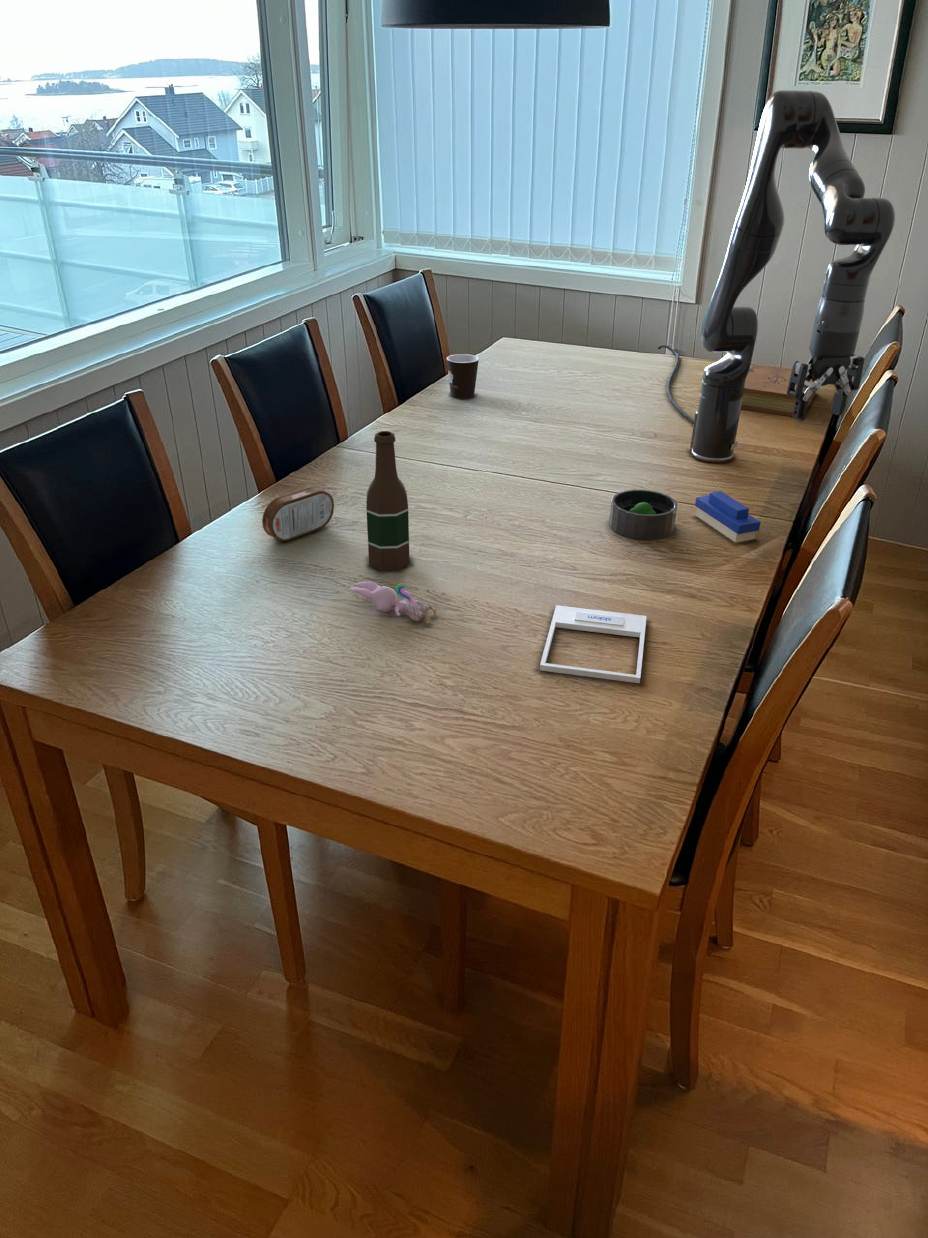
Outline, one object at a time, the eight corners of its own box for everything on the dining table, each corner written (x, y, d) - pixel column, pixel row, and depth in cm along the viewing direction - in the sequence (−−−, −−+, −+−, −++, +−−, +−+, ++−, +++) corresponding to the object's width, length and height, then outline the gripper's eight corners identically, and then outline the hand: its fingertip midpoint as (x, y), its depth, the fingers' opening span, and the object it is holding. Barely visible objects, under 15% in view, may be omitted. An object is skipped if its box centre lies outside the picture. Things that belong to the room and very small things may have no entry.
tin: (328, 519, 180) (325, 479, 176) (338, 524, 178) (335, 484, 174) (263, 543, 171) (258, 501, 167) (273, 548, 169) (268, 506, 165)
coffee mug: (478, 400, 246) (478, 362, 241) (446, 399, 246) (446, 362, 241) (478, 387, 256) (478, 351, 251) (447, 386, 256) (447, 350, 251)
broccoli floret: (622, 526, 178) (625, 503, 175) (641, 518, 181) (644, 495, 179) (644, 535, 174) (647, 512, 172) (663, 527, 178) (666, 504, 175)
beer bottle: (377, 575, 161) (371, 444, 148) (361, 557, 166) (354, 429, 154) (418, 566, 164) (415, 437, 151) (400, 548, 170) (396, 423, 157)
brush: (693, 516, 183) (697, 488, 180) (713, 513, 185) (717, 485, 182) (735, 545, 172) (741, 516, 169) (756, 541, 173) (762, 512, 170)
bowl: (597, 520, 181) (599, 494, 178) (651, 511, 185) (654, 485, 182) (630, 546, 171) (633, 519, 168) (686, 536, 175) (690, 509, 172)
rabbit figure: (439, 619, 151) (360, 587, 155) (444, 589, 147) (363, 557, 151) (421, 637, 146) (340, 603, 150) (426, 606, 142) (344, 573, 146)
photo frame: (646, 614, 147) (640, 677, 132) (645, 620, 148) (639, 683, 133) (556, 604, 150) (540, 663, 135) (555, 610, 150) (539, 670, 135)
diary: (747, 384, 261) (750, 364, 258) (815, 393, 254) (819, 373, 251) (728, 406, 243) (732, 385, 240) (801, 417, 236) (805, 395, 233)
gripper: (853, 316, 163) (833, 406, 171) (789, 323, 158) (772, 415, 166) (885, 326, 157) (863, 418, 165) (819, 333, 152) (800, 428, 160)
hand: (817, 416), depth 166 cm, fingers open, 8 cm apart
